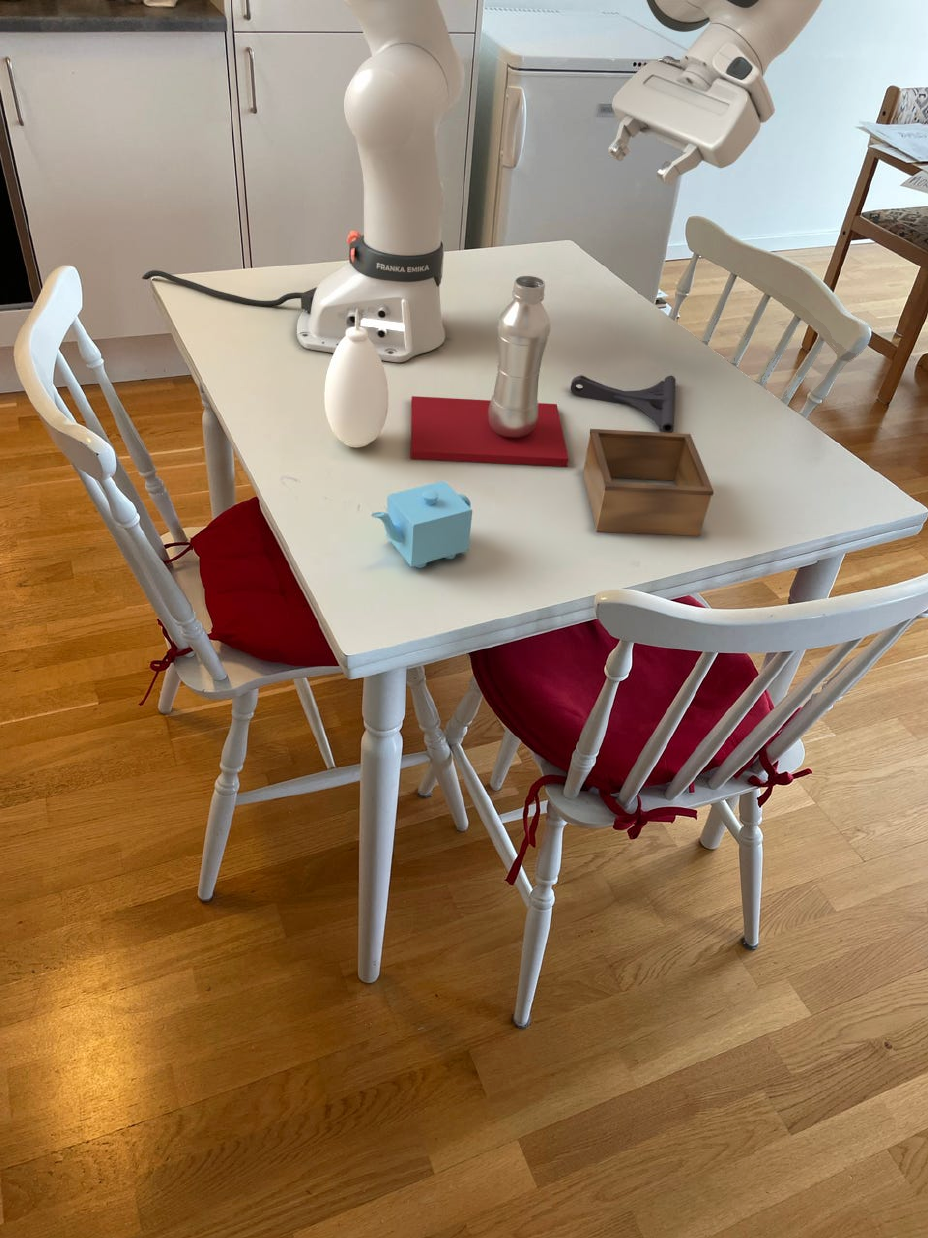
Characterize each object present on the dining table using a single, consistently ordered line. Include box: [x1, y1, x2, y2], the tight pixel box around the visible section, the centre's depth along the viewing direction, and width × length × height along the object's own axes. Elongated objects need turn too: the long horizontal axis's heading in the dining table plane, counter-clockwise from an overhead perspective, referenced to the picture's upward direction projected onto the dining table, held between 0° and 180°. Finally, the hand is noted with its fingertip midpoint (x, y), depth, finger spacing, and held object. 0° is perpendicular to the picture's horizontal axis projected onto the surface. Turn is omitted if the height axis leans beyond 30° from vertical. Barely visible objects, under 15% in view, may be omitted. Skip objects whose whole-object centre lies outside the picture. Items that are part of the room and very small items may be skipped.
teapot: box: [370, 480, 473, 569], centre depth 104 cm, size 12×6×8 cm, turn 120°
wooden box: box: [582, 428, 715, 537], centre depth 116 cm, size 13×13×6 cm
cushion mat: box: [410, 395, 569, 467], centre depth 127 cm, size 20×14×1 cm
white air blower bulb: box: [323, 309, 389, 448], centre depth 117 cm, size 8×8×18 cm
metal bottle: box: [488, 275, 551, 438], centre depth 119 cm, size 6×7×20 cm
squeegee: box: [570, 374, 677, 433], centre depth 136 cm, size 14×15×3 cm
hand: (637, 167), depth 117 cm, fingers open, 8 cm apart
